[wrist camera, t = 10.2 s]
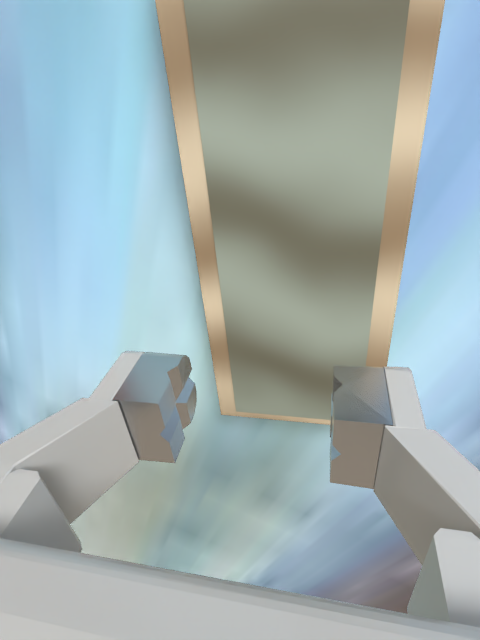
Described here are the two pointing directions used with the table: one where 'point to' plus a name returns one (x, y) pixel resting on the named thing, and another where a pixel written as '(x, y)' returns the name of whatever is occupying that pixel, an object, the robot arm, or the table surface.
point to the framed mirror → (298, 182)
